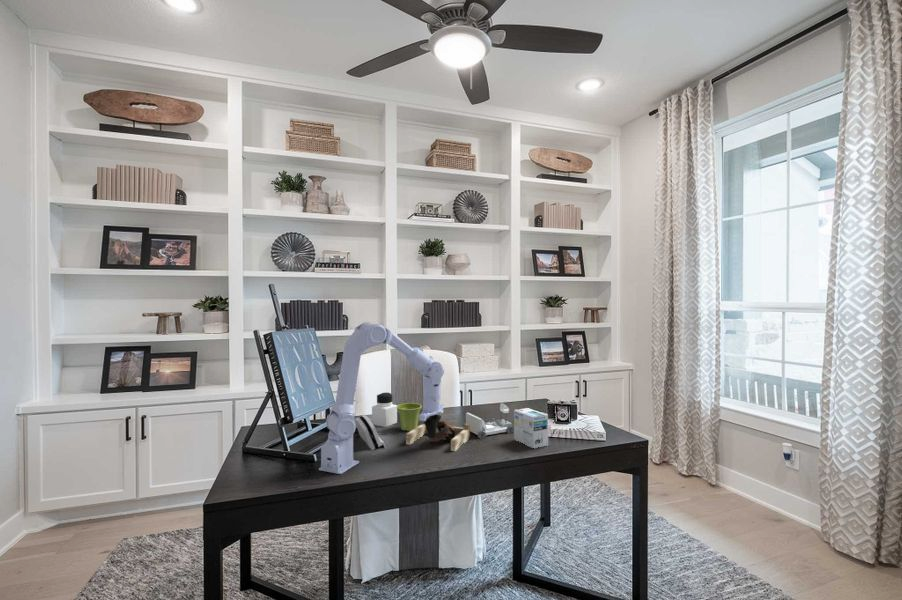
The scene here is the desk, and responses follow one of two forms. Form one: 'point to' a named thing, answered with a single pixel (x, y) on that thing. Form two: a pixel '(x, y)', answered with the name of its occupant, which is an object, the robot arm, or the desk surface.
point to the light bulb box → (531, 427)
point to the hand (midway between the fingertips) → (431, 437)
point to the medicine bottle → (384, 410)
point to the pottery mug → (443, 432)
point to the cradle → (419, 431)
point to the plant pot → (409, 415)
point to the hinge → (368, 432)
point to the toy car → (489, 424)
